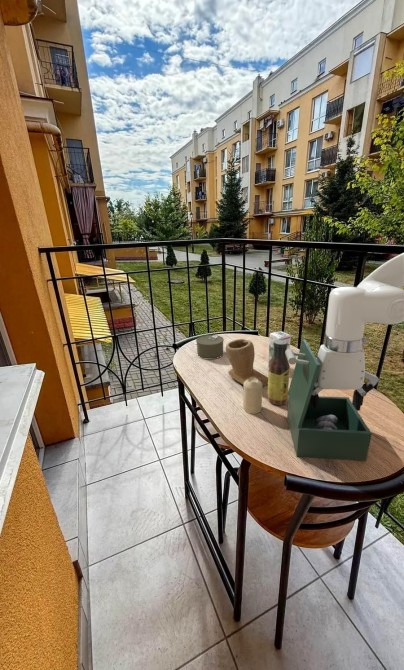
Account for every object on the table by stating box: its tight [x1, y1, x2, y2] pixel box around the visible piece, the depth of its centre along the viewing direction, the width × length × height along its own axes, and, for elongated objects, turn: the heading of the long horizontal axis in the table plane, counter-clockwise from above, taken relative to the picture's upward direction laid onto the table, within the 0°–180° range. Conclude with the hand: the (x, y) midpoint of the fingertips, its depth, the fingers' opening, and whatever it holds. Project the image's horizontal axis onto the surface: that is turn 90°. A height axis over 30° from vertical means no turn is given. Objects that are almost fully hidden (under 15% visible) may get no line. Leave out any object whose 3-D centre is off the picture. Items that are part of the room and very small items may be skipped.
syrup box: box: [267, 330, 292, 368], centre depth 107 cm, size 6×6×14 cm
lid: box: [285, 339, 321, 428], centre depth 68 cm, size 16×15×5 cm
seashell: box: [315, 415, 338, 430], centre depth 72 cm, size 5×5×10 cm
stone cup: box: [225, 338, 268, 387], centre depth 99 cm, size 15×12×15 cm
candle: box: [242, 377, 263, 414], centre depth 84 cm, size 6×6×10 cm
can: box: [195, 334, 224, 359], centre depth 124 cm, size 12×12×7 cm
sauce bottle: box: [267, 340, 291, 406], centre depth 86 cm, size 7×6×20 cm
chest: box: [286, 395, 372, 462], centre depth 71 cm, size 16×15×8 cm
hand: (335, 406), depth 69 cm, fingers open, 9 cm apart
